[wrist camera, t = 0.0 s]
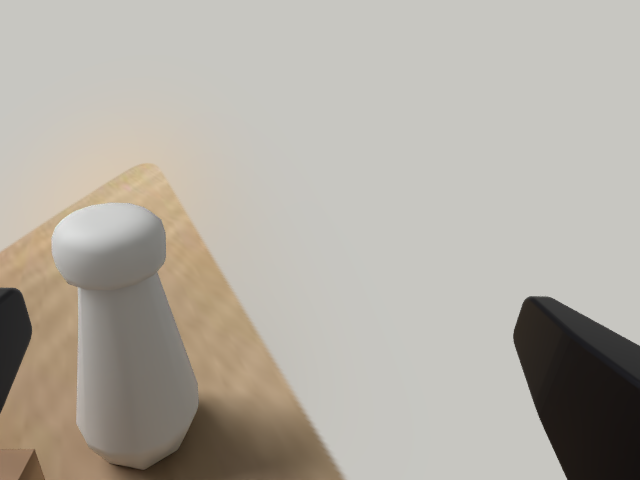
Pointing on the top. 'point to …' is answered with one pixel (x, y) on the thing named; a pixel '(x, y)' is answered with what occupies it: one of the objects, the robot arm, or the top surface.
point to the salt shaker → (125, 335)
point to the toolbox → (20, 465)
